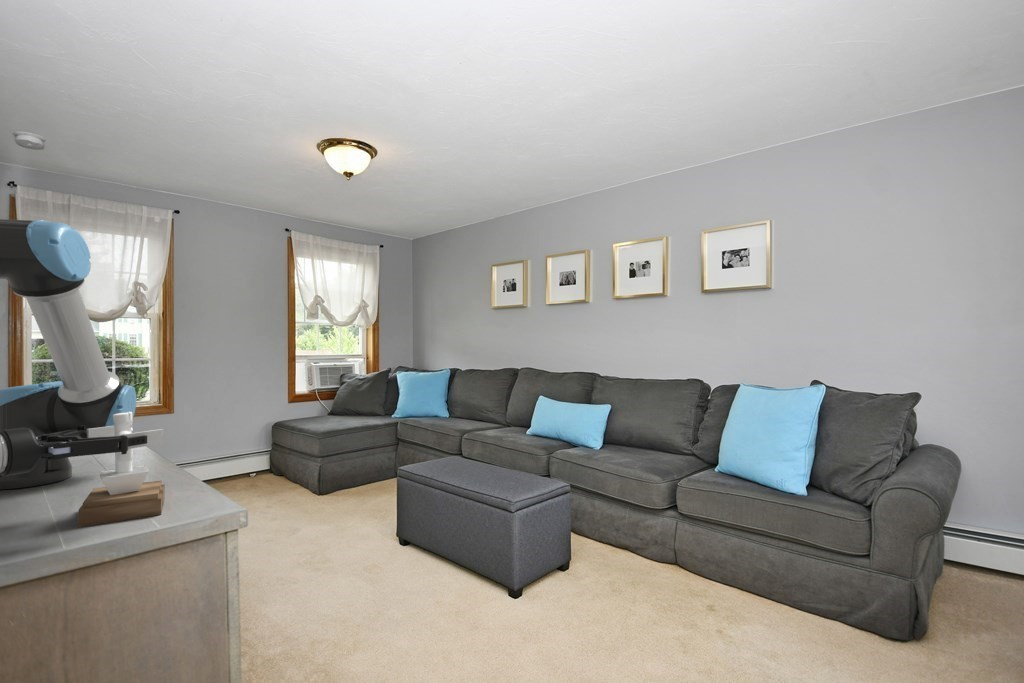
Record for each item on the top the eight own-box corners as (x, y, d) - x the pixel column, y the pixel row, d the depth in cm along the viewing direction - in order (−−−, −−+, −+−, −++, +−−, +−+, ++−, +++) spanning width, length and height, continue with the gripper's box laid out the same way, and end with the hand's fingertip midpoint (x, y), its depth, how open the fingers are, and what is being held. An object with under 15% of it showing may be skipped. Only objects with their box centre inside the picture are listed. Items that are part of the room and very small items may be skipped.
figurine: (101, 499, 92) (99, 416, 93) (99, 489, 100) (98, 412, 100) (149, 491, 97) (148, 412, 97) (144, 482, 104) (143, 408, 104)
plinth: (90, 508, 100) (90, 488, 100) (164, 498, 107) (164, 479, 107) (78, 526, 90) (78, 504, 90) (161, 514, 96) (161, 493, 96)
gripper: (-31, 468, 89) (111, 447, 107) (31, 486, 77) (179, 458, 95) (-31, 425, 89) (111, 411, 107) (31, 436, 77) (179, 418, 95)
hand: (144, 433), depth 101 cm, fingers open, 13 cm apart
